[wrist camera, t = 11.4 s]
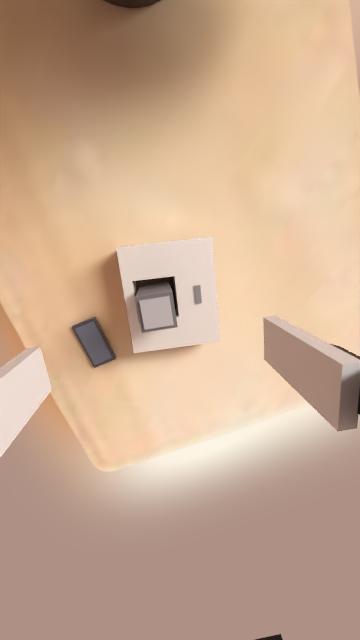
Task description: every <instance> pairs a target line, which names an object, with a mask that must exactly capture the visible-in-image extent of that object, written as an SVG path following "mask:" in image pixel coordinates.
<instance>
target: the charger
mask: <svg viewBox="0 0 360 640" xmlns="http://www.w3.org/2000/svg"><path fill="white" fill-rule="evenodd" d="M135 301H136V306H137V311H138V316H139V322H140V327H141V332H142V333H145V332H151V331H157V330H164V329H170V328H176V327H178V325H177V319H176V312H175V305H174V299H173V292H172V289H171V287H170V285H169V283H168V281H167V282H161V283H154V284H148V285H141V286H140V287H139V290H138V292H137V294H136V296H135Z"/></svg>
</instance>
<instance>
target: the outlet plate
mask: <svg viewBox="0 0 360 640" xmlns="http://www.w3.org/2000/svg"><path fill="white" fill-rule="evenodd" d="M116 250H117V256H118V262H119V268H120V274H121V280H122V286H123V292H124V298H125V304H126V309H127V315H128V321H129V327H130V333H131V339H132V345H133V351H134V353H140V352H147V351H155V350H162V349H169V348H177V347H184V346H191V345H199V344H206V343H213V342H220V334H219V320H218V306H217V291H216V277H215V263H214V249H213V237H204V238H195V239H186V240H177V241H168V242H159V243H150V244H141V245H132V246H122V247H116ZM172 276H173V283H174V292H175V300H176V309H177V310H175V312H176V319H177V325H178V327H176V328H170V329H164V330H157V331H151V332H145V333H142V332H141V327H140V322H139V316H138V311H137V306H136V301H135V296H136V294H137V290H136V283H135V281H138V280H147V279H155V278H163V277H172Z"/></svg>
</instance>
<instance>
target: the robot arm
mask: <svg viewBox="0 0 360 640" xmlns="http://www.w3.org/2000/svg"><path fill="white" fill-rule="evenodd" d="M106 1H108V2H111V3H113V4H116V5H120V6H125V7H140V6H145V5H149V4H152V3H154V2H156V1H158V0H106ZM264 360H265V361H266V362H267V363H268V364H270V365H271V366H272V367H273V368H274V369H275V370H276V371H277V372H278V373H279V374H280V375H281V376H282V377H283V378H284V379H285V380H286V381H287V382H288V383H289V384H290V385H291V386H292V387H293V388H294V389H295V390H296V391H297V392H298V393H299V394H300V395H301V396H302V397H303V398H304V399H305V400H306V401H307V402H308V403H309V404H310V405H312V407H313V408H315V409H316V410H317V411H318V412H319V413H320V414H321V415H322V416H323V417H324V418H325V419H326V420H327V421H328V422H329V423H330V424H331V425H332V426H333V427H334V428H335V429H336V430H337V431H342V430H348V429H355V428H357V422H358V414H360V356H356V354H354V353H352V352H349V351H348V350H346V349H344V348H342V347H340V346H336V345H333V344H329V343H327V342H325V341H323V340H321V339H319V338H317V337H315V336H313V335H312V334H310V333H308V332H306V331H304V330H302V329H300V328H298V327H296V326H294V325H292V324H290V323H289V322H287V321H285V320H283V319H281V318H279V317H277V316H271V317H264ZM51 390H52V388H51V385H50V381H49V377H48V374H47V370H46V367H45V363H44V359H43V356H42V352H41V348H40V347H35V348H27V349H25V350H24V351H23V352H21V353H20V354H19V355H17V356H16V357H14V358H13V359H12V360H10V361H9V362H8V363H6V364H5V365H4V366H2V367H1V368H0V457H1V456H2V455H3V453H4V452H5V451H6V449H7V448H8V447H9V445H10V444H11V443H12V441H13V440H14V439H15V437H16V436H17V435H18V433H19V432H20V431H21V430H22V428H23V427H24V426H25V424H26V423H27V422H28V420H29V419H30V418H31V416H32V415H33V414H34V412H35V411H36V410H37V409H38V407H39V406H40V404H41V403H42V402H43V401H44V399H45V398H46V397H47V395H48V394H49V393H50V391H51ZM256 640H282V637H281V634H280V635H274V636H270V637H265V638H260V639H256Z"/></svg>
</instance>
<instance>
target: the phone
mask: <svg viewBox="0 0 360 640" xmlns="http://www.w3.org/2000/svg"><path fill="white" fill-rule="evenodd" d="M72 329H73V330H74V332H75V334H76V336H77V338H78V339H79V341H80V343H81V345H82V347H83V348H84V350H85V352H86V354H87V356H88V357H89V359H90V361H91V363H92V365H93V366H94V368H95V367H97V366H100V365H102V364H105V363H107V362H109V361H112V360H114V359H116V356H115V354H114V352H113V350H112V348H111V346H110V344H109V342H108V340H107V338H106V337H105V335H104V333H103V331H102V329H101V327H100V325H99V323H98V321H97V319H96V317H93V318H91V319H88V320H86V321H84V322H81V323H79V324H76V325H74V326H72Z"/></svg>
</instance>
